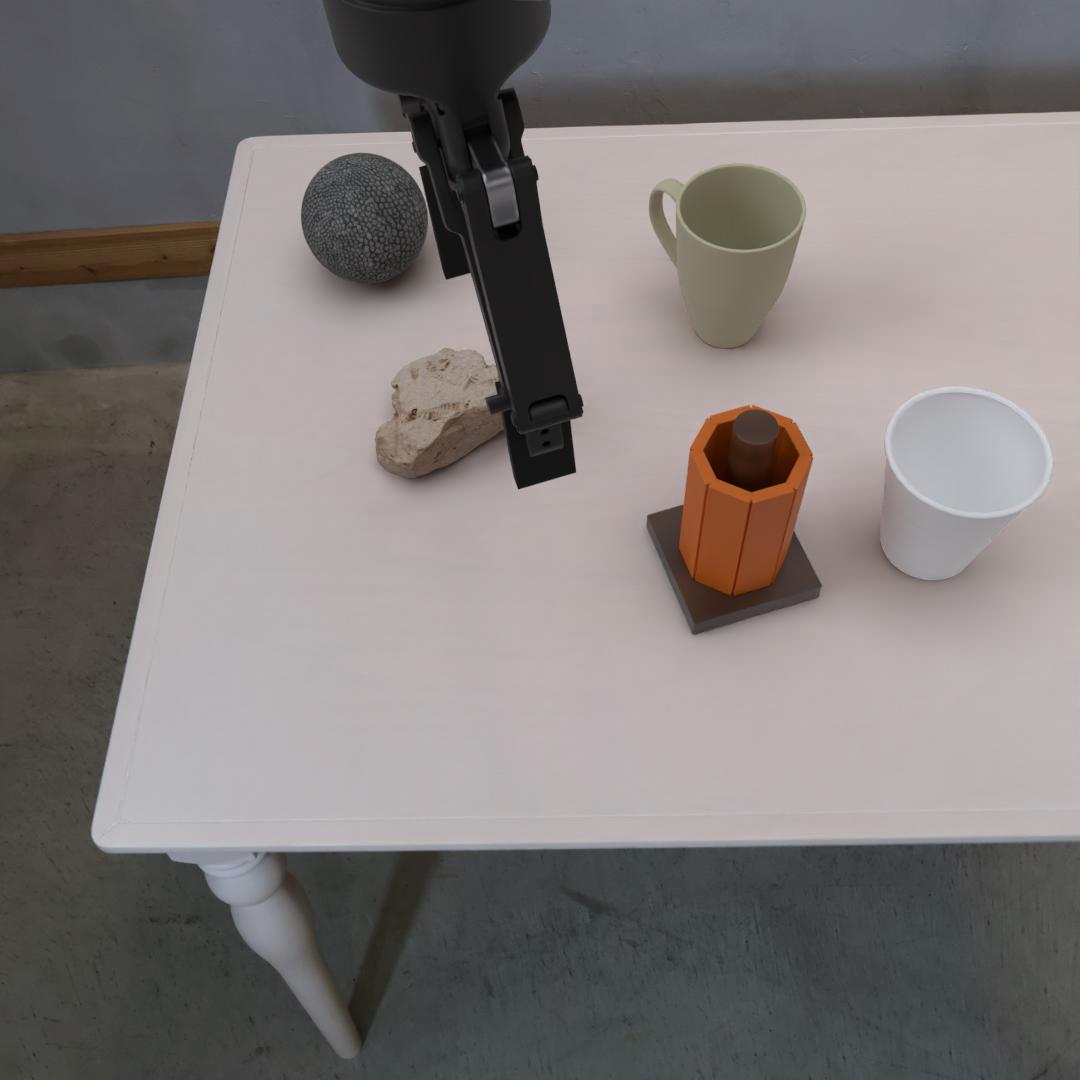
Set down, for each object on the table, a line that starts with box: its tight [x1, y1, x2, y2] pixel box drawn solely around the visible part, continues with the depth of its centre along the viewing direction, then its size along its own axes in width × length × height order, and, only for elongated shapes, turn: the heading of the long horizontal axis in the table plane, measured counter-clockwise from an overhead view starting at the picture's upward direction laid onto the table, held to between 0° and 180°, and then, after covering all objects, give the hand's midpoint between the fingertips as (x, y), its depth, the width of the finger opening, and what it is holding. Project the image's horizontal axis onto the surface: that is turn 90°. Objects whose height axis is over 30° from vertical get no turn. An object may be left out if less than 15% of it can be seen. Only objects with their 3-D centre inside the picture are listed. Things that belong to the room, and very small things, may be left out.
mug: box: [648, 163, 807, 349], centre depth 84 cm, size 11×10×12 cm
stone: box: [374, 347, 504, 479], centre depth 82 cm, size 9×11×5 cm
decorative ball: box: [300, 152, 429, 284], centre depth 90 cm, size 10×10×10 cm
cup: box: [879, 385, 1055, 581], centre depth 73 cm, size 10×10×11 cm
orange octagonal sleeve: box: [679, 404, 814, 596], centre depth 71 cm, size 7×7×11 cm
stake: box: [646, 409, 823, 635], centre depth 71 cm, size 9×9×15 cm
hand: (504, 364), depth 54 cm, fingers open, 13 cm apart
